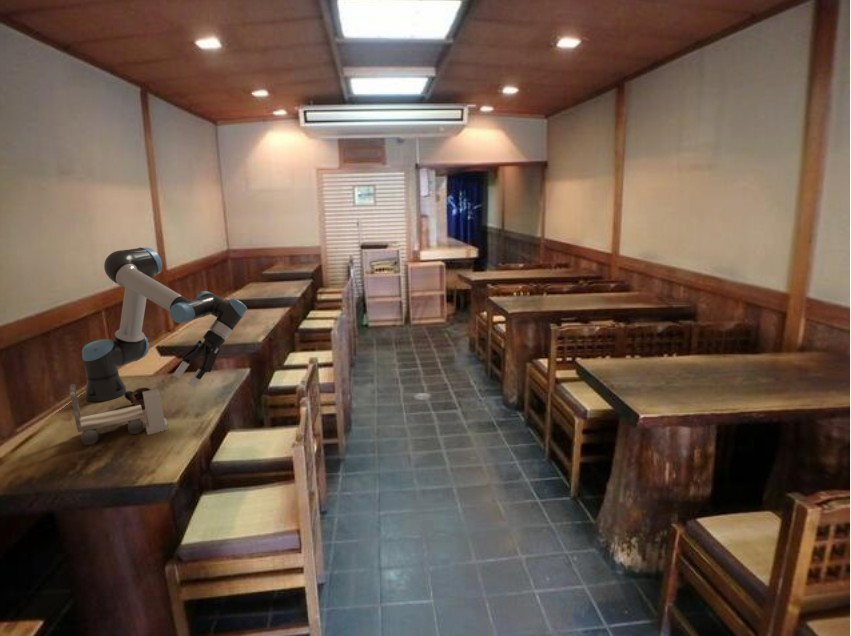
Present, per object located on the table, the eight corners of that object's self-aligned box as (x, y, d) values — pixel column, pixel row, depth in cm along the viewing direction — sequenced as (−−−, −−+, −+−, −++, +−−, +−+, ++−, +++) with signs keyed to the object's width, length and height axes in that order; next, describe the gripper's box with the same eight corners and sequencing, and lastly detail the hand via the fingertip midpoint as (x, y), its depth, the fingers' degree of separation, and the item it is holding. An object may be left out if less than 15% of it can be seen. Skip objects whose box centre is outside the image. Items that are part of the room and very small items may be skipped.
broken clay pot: (160, 399, 219) (158, 386, 214) (150, 417, 212) (148, 404, 206) (130, 394, 217) (127, 381, 212) (119, 412, 210) (116, 399, 205)
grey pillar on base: (145, 427, 191) (139, 392, 188) (166, 422, 195) (160, 387, 192) (147, 434, 185) (141, 398, 182) (169, 429, 189) (163, 393, 186)
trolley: (79, 433, 188) (69, 383, 183) (143, 419, 198) (134, 371, 194) (79, 447, 177) (68, 394, 173) (146, 431, 188) (137, 380, 183)
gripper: (240, 345, 198) (205, 394, 191) (210, 334, 215) (177, 378, 208) (225, 335, 193) (189, 384, 186) (195, 324, 210) (161, 368, 203)
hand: (183, 381), depth 197 cm, fingers open, 13 cm apart
